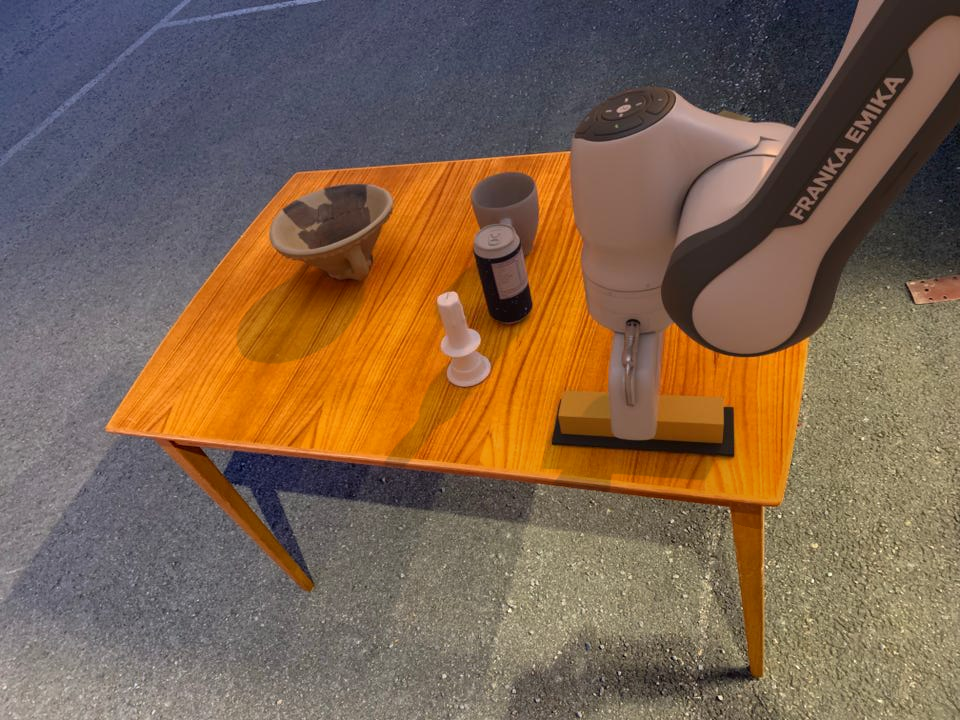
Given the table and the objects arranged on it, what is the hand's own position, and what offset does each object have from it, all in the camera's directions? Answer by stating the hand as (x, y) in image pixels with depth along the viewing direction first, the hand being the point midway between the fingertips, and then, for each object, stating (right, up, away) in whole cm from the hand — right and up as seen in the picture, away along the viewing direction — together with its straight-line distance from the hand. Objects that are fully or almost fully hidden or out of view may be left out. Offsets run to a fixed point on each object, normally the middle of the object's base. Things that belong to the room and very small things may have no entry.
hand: (645, 392), depth 68 cm
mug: (-11, +18, +29) cm, 36 cm away
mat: (+1, -4, +4) cm, 5 cm away
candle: (-17, +2, +15) cm, 23 cm away
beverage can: (-12, +9, +20) cm, 26 cm away
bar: (0, -4, +3) cm, 5 cm away
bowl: (-35, +17, +35) cm, 53 cm away
